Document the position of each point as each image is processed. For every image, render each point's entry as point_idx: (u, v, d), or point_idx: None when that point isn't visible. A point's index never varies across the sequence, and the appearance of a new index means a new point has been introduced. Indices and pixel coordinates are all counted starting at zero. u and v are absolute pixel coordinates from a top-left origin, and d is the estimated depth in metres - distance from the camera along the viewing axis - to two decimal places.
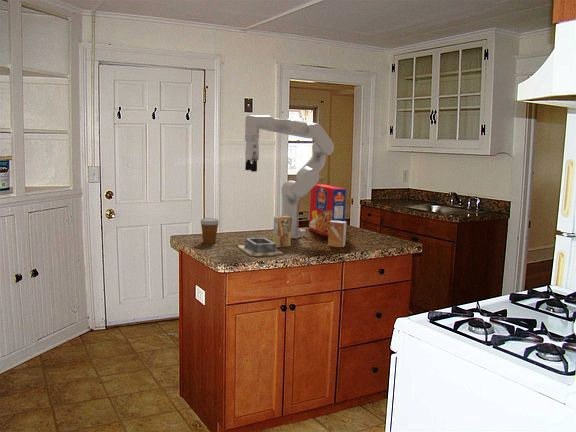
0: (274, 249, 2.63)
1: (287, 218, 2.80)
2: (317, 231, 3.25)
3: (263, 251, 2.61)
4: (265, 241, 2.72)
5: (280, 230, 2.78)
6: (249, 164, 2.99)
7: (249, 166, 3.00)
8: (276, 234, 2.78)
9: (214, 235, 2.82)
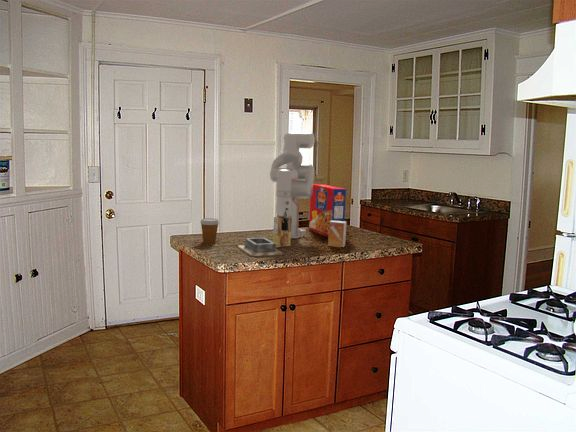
0: (274, 249, 2.63)
1: None
2: (317, 231, 3.25)
3: (263, 251, 2.61)
4: (265, 241, 2.72)
5: (280, 230, 2.78)
6: None
7: None
8: (276, 234, 2.78)
9: (214, 235, 2.82)
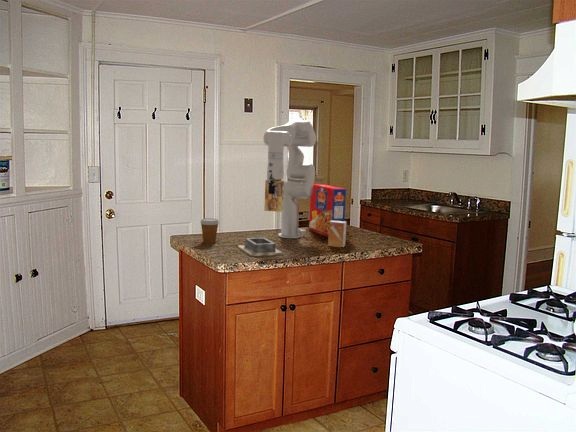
0: (274, 249, 2.63)
1: (277, 182, 2.69)
2: (317, 231, 3.25)
3: (263, 251, 2.61)
4: (265, 241, 2.72)
5: (267, 193, 2.71)
6: None
7: None
8: (265, 197, 2.72)
9: (214, 235, 2.82)
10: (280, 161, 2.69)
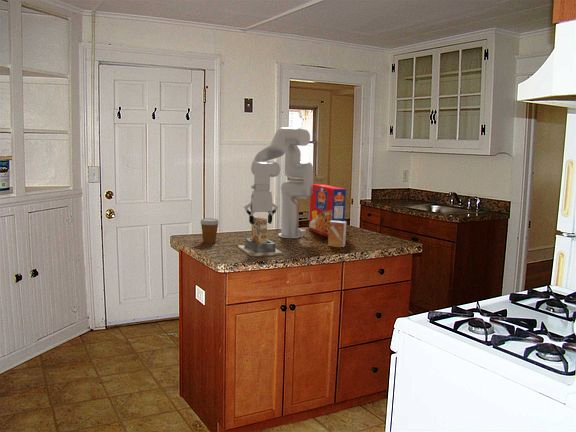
0: (274, 249, 2.63)
1: (257, 220, 2.64)
2: (317, 231, 3.25)
3: (263, 251, 2.61)
4: None
5: (252, 230, 2.69)
6: (269, 217, 2.68)
7: (269, 219, 2.68)
8: None
9: (214, 235, 2.82)
10: (263, 193, 2.62)
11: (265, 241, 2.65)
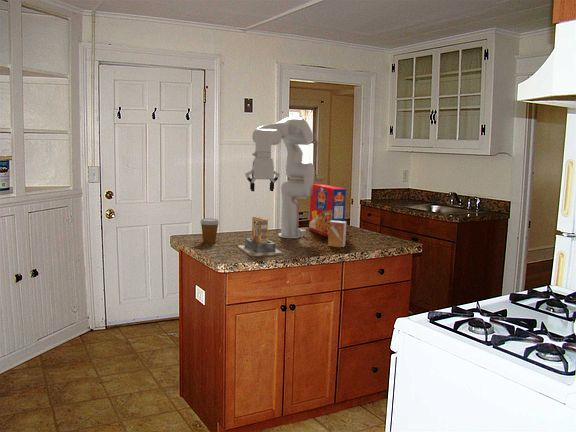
0: (274, 249, 2.63)
1: (258, 220, 2.64)
2: (317, 231, 3.25)
3: (263, 251, 2.61)
4: None
5: (253, 230, 2.69)
6: (271, 184, 2.67)
7: (271, 186, 2.67)
8: None
9: (214, 235, 2.82)
10: (265, 160, 2.62)
11: (265, 241, 2.65)
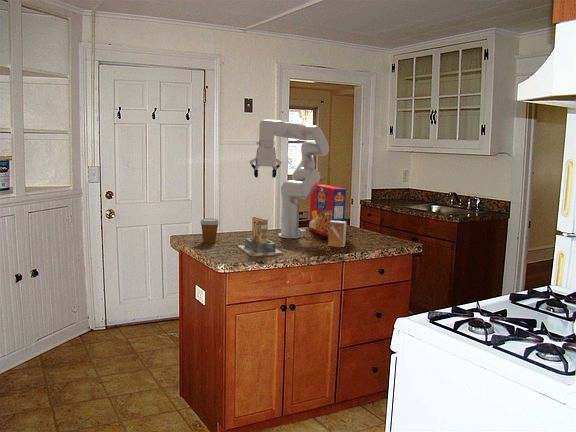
0: (274, 249, 2.63)
1: (258, 220, 2.64)
2: (317, 231, 3.25)
3: (263, 251, 2.61)
4: None
5: (253, 230, 2.69)
6: (273, 171, 2.87)
7: (273, 173, 2.87)
8: None
9: (214, 235, 2.82)
10: (268, 148, 2.82)
11: (265, 241, 2.65)
